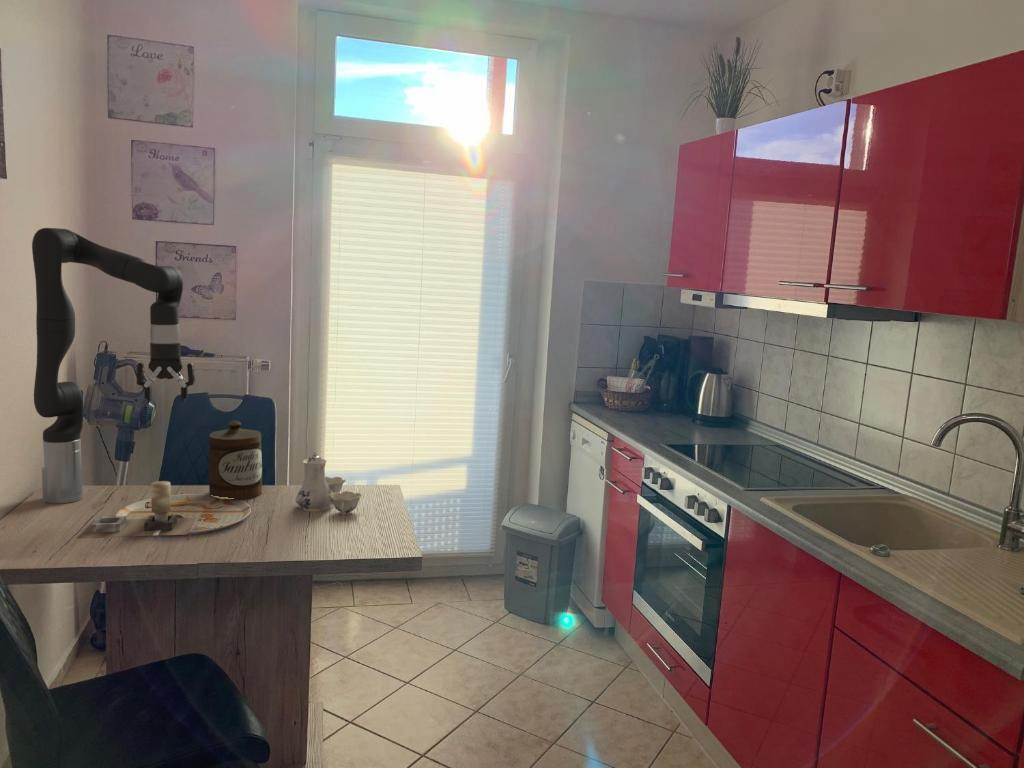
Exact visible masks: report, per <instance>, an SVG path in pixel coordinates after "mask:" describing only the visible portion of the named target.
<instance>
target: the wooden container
mask: <svg viewBox="0 0 1024 768" xmlns="http://www.w3.org/2000/svg"><path fill="white" fill-rule="evenodd" d="M241 426H242V423H241V422H240V421H239V420H231V421H230V422H229V423H228V427H229V429H222V430H217V431H212V432H211V433H209V435H208V445H209V447H208V448H209V449H208V450H209V454H208V456H209V458H208V462H209V463H208V464H209V465H208V482H209V483H208V484H209V486H208V487H209V493H208V494H209V496H210V495H213V496H219V497H228V498H234V499H238V500H248V499H252V498H256V497H258V496H259V495H261V494H262V493H263V459H262V452H263V450H262V432H260V431H259V430H254V429H247V428H241ZM238 500H237V501H238Z"/></svg>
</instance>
